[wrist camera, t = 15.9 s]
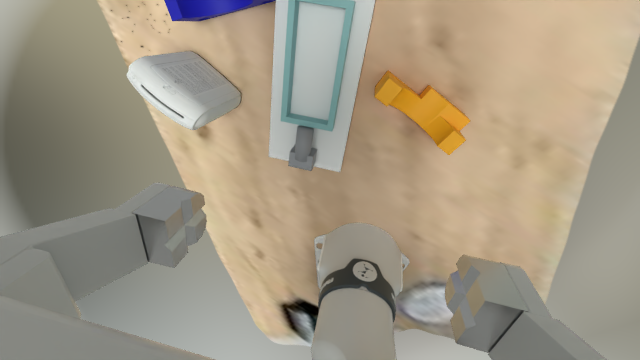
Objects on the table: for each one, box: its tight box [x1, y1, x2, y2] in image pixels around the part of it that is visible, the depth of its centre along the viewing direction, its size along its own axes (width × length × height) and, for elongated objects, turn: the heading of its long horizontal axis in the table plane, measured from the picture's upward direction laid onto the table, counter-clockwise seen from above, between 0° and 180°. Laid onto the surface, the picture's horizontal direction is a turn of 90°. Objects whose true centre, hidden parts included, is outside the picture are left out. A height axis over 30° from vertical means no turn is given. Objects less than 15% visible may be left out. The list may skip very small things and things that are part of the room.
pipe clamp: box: [374, 71, 470, 155], centre depth 35 cm, size 12×4×6 cm, turn 56°
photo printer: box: [127, 51, 241, 130], centre depth 37 cm, size 10×4×12 cm, turn 50°
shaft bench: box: [269, 0, 376, 172], centre depth 35 cm, size 30×12×7 cm, turn 172°
